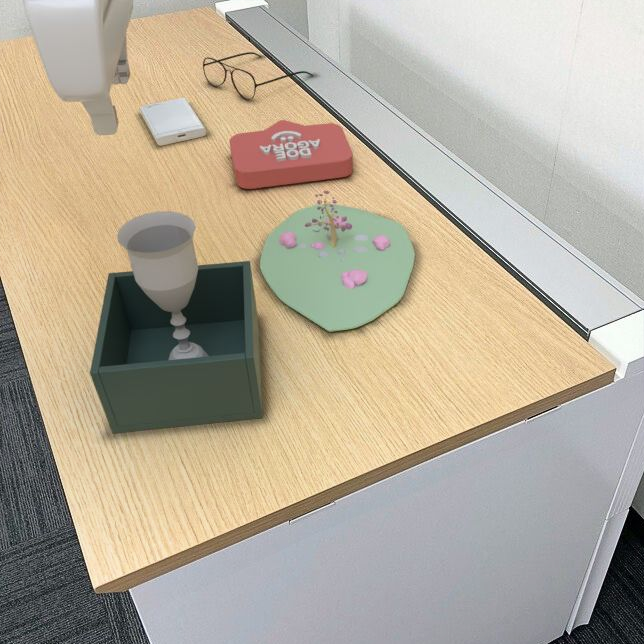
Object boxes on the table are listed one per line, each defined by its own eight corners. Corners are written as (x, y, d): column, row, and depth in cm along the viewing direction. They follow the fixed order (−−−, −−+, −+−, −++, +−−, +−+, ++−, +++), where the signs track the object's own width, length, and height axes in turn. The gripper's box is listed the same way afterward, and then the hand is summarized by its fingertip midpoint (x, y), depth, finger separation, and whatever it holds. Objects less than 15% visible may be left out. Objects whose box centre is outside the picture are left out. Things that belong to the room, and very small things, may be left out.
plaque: (336, 110, 119) (355, 155, 109) (336, 132, 122) (355, 178, 112) (226, 122, 117) (234, 170, 107) (229, 144, 120) (238, 193, 109)
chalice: (220, 340, 85) (195, 207, 72) (223, 383, 80) (196, 247, 67) (156, 349, 84) (119, 215, 71) (155, 392, 79) (115, 257, 66)
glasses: (202, 82, 137) (200, 54, 134) (261, 65, 146) (260, 39, 143) (255, 104, 130) (255, 75, 127) (313, 85, 139) (314, 58, 136)
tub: (112, 433, 76) (89, 373, 70) (126, 332, 87) (108, 272, 81) (263, 418, 77) (253, 357, 71) (258, 320, 89) (249, 260, 82)
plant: (453, 308, 89) (459, 248, 83) (288, 345, 85) (281, 285, 79) (384, 202, 107) (385, 145, 100) (245, 228, 103) (237, 171, 96)
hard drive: (139, 106, 127) (156, 137, 119) (185, 96, 129) (205, 126, 121) (141, 115, 128) (158, 146, 120) (186, 105, 130) (206, 135, 122)
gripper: (52, -110, 61) (93, 57, 70) (-6, -31, 46) (56, 166, 56) (130, -112, 61) (160, 54, 71) (97, -34, 47) (141, 161, 56)
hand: (114, 104), depth 63 cm, fingers open, 8 cm apart
